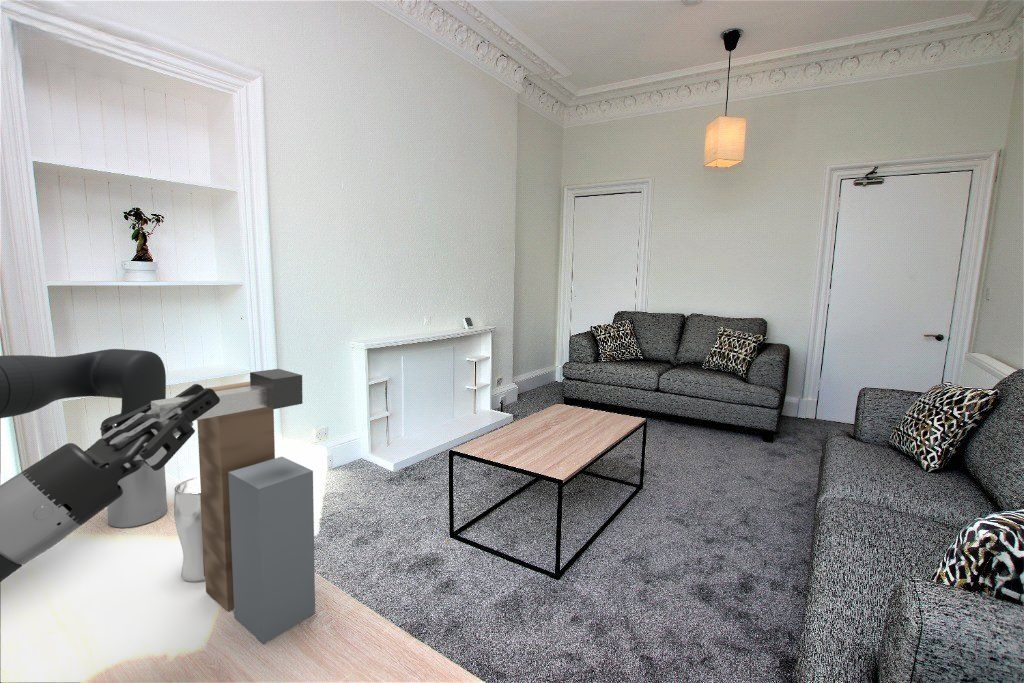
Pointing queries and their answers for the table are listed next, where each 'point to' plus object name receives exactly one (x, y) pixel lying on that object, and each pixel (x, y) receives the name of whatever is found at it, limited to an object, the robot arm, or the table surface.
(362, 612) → the table surface
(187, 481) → the beer glass
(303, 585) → the grey tall block
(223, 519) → the tall wooden post
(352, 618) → the table surface
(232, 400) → the blocky hammer
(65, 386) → the robot arm
